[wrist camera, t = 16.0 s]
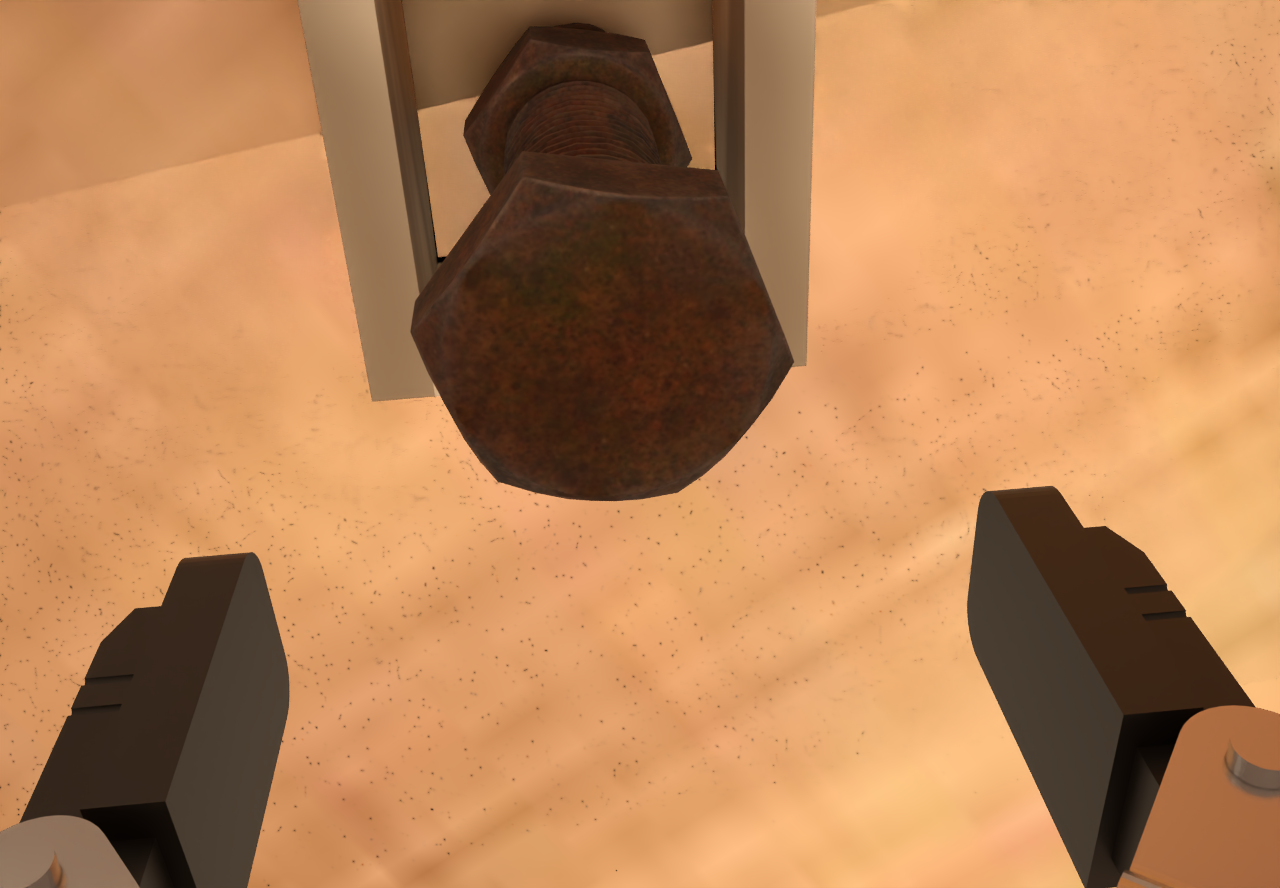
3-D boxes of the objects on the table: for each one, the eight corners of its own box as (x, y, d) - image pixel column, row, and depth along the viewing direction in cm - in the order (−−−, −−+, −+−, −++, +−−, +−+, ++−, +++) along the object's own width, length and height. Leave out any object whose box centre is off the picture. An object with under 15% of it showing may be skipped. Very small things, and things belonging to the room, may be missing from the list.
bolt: (426, 16, 30) (356, 258, 17) (617, -74, 29) (696, 110, 16) (529, 223, 33) (536, 563, 20) (704, 147, 32) (830, 448, 19)
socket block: (774, -180, 28) (820, -159, 24) (770, 282, 34) (806, 365, 30) (312, -153, 27) (274, -125, 23) (390, 311, 34) (372, 401, 29)
